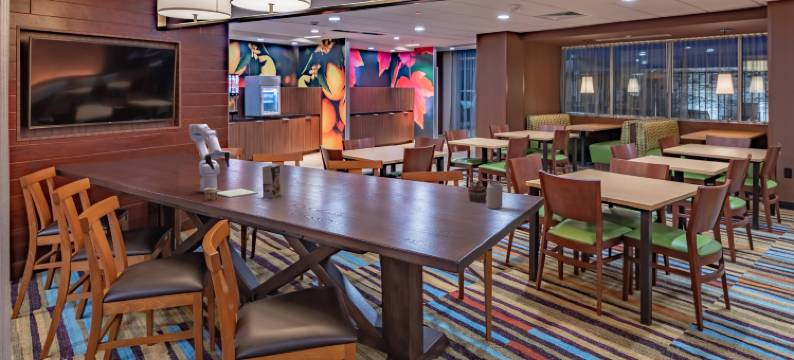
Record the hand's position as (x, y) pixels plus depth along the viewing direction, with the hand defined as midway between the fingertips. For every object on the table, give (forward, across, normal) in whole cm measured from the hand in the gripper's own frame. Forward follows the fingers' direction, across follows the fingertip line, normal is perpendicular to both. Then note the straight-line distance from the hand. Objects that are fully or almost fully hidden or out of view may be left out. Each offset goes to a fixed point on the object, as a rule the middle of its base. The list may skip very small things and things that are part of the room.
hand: (220, 167), depth 290 cm
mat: (+4, +7, +20) cm, 21 cm away
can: (+82, +109, -35) cm, 141 cm away
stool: (+11, -8, +11) cm, 17 cm away
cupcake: (+69, +112, -23) cm, 134 cm away
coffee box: (+17, +23, +10) cm, 30 cm away
